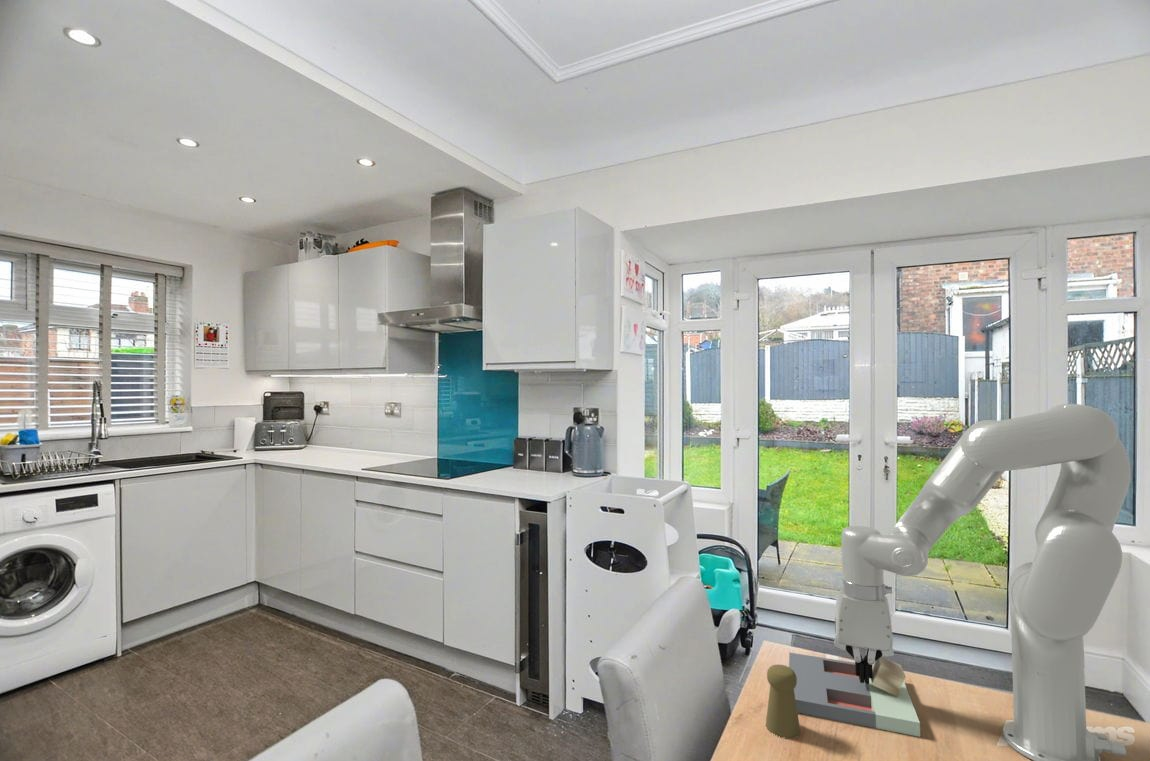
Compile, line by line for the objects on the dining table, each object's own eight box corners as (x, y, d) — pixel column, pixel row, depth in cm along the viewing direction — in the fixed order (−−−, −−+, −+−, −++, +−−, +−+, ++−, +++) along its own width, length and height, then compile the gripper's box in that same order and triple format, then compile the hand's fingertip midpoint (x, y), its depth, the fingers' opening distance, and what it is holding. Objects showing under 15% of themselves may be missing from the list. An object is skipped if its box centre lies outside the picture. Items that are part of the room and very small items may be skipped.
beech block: (893, 685, 110) (901, 665, 109) (897, 696, 106) (905, 676, 105) (869, 674, 111) (877, 654, 111) (872, 685, 107) (880, 664, 107)
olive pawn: (803, 740, 97) (802, 678, 97) (768, 736, 98) (766, 674, 98) (796, 720, 103) (795, 661, 103) (763, 716, 104) (762, 658, 104)
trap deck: (899, 681, 116) (899, 669, 116) (920, 736, 97) (919, 722, 97) (789, 663, 124) (789, 652, 124) (788, 711, 106) (788, 698, 106)
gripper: (901, 587, 111) (902, 678, 110) (821, 578, 116) (822, 664, 116) (908, 601, 104) (910, 697, 103) (823, 590, 109) (824, 682, 109)
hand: (863, 680), depth 110 cm, fingers closed
